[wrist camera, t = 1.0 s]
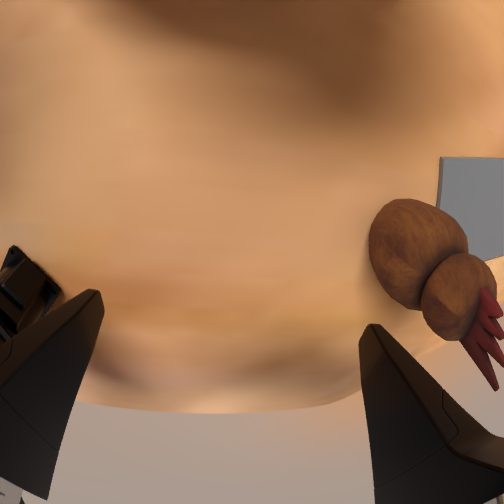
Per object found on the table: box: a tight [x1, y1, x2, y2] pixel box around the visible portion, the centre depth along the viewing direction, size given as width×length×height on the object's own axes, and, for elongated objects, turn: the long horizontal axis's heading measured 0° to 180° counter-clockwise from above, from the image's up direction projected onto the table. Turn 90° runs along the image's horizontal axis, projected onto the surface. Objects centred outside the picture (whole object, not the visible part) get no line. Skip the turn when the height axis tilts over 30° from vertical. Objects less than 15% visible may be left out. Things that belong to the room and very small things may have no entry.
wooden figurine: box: [369, 199, 504, 391], centre depth 15 cm, size 7×6×15 cm
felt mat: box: [436, 157, 504, 261], centre depth 21 cm, size 16×11×1 cm
